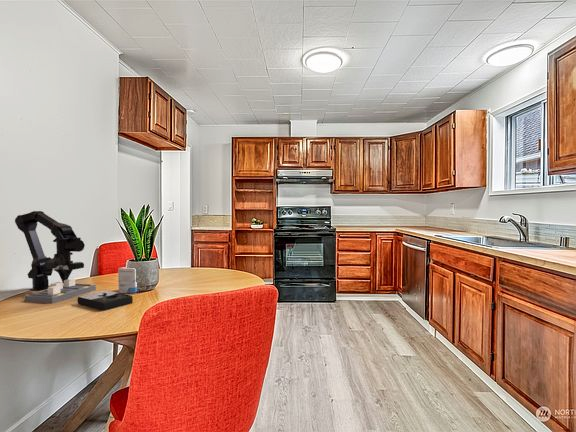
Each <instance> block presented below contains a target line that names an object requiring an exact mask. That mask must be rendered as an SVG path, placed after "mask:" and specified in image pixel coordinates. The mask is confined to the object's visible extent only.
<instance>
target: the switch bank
mask: <svg viewBox="0 0 576 432" xmlns="http://www.w3.org/2000/svg"><path fill="white" fill-rule="evenodd" d="M96 288H97V287H96V285H95V284H91V283H76V282H75V285H74V286H70V287H64V285H63V289H60V291H61V293H58V294H54V295H49V294H48V289H44V290H40V291H37V292H34V293H29V294H27V295H24V296H23V297H24V303H25V302H26V303H42V304H56V303H58V302H61V301H65V300H69V299H72V298H75V297H80V296H83V295H86V294H89V293H90V292H94V291H96V290H97V289H96Z"/></svg>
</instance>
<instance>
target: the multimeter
mask: <svg viewBox="0 0 576 432" xmlns="http://www.w3.org/2000/svg"><path fill="white" fill-rule="evenodd" d="M76 300H77V305H79V306H83V307H85V306H86V308H90V309H94V310H97V311H100V312H101V311H102V312H104V311H106V312H107V311H109V310H112V309H113V310H114V309H117V308H121V307H123V306H128V305H132V304H133V301H134V300H133V295H131V294H127V293H119V292H116V291H111V290H104V291H98V292H93V293H88V294H83V295H79V296H77V299H76Z"/></svg>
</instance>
